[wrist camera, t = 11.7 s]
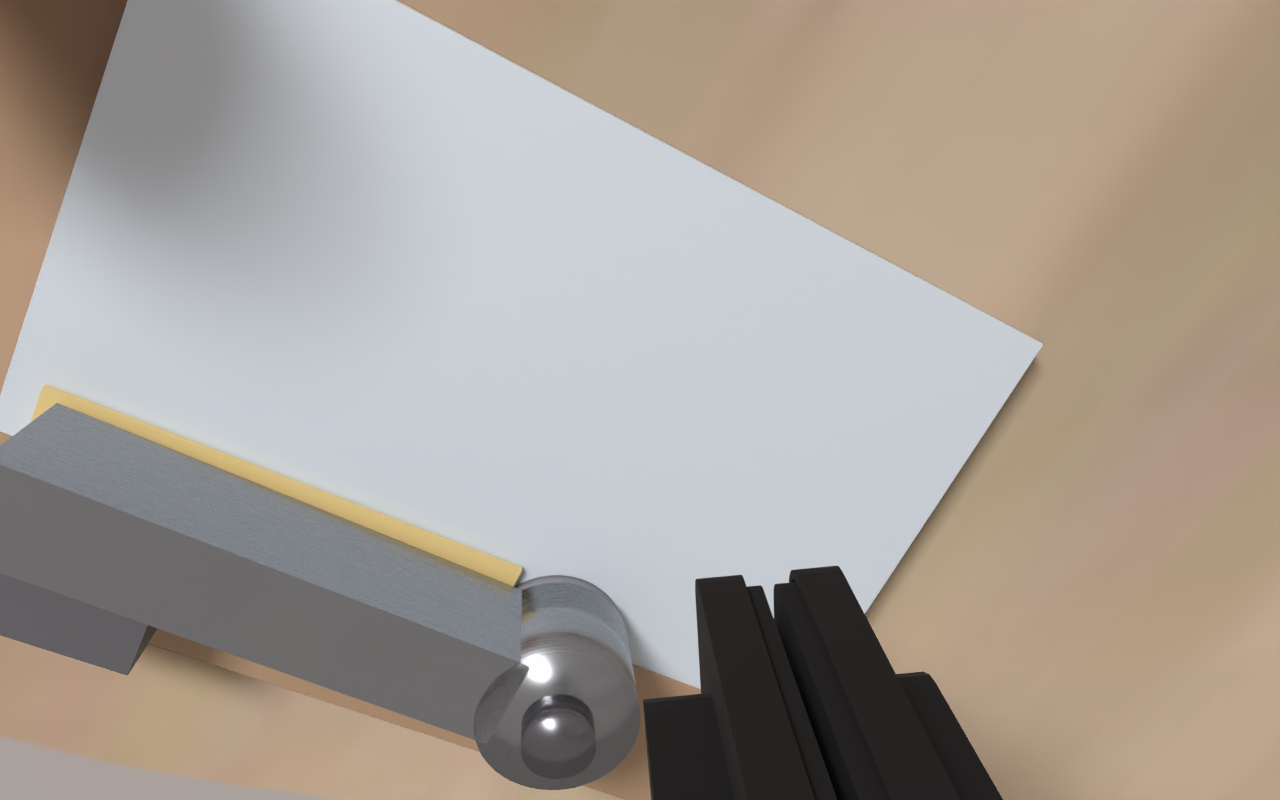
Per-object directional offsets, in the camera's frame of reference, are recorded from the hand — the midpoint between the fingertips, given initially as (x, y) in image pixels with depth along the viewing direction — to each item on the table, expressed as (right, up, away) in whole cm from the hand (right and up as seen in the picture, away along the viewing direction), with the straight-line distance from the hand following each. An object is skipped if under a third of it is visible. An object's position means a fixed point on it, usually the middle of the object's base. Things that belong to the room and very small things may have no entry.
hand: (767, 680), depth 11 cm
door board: (-6, +2, +18) cm, 19 cm away
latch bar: (-10, -2, +17) cm, 19 cm away
